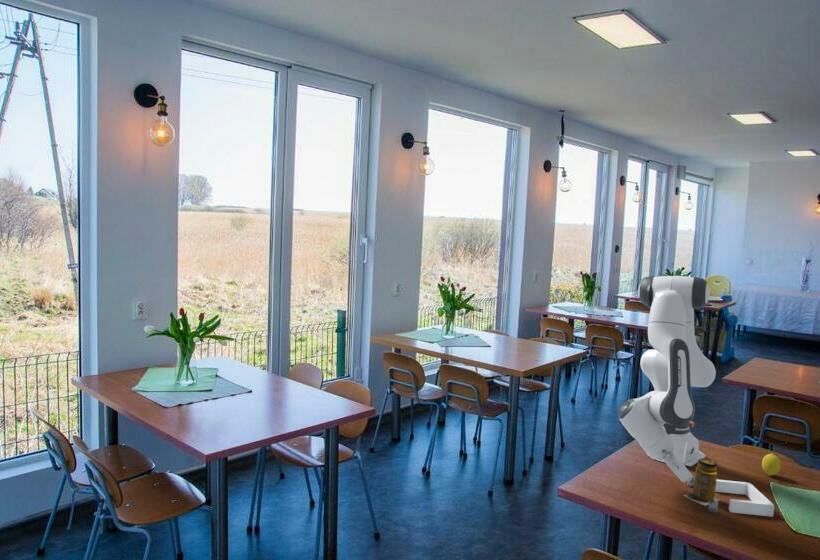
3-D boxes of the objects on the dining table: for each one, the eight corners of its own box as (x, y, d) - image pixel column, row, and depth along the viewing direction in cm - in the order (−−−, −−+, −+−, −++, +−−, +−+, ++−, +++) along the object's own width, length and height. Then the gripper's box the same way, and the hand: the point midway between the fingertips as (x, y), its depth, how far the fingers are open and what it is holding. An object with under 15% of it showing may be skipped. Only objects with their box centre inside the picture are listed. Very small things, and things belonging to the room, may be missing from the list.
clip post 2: (710, 509, 181) (712, 499, 181) (718, 512, 179) (719, 502, 179) (706, 510, 180) (707, 501, 179) (714, 514, 178) (715, 504, 177)
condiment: (720, 500, 188) (724, 463, 186) (704, 506, 183) (709, 468, 182) (697, 491, 194) (702, 455, 192) (682, 496, 189) (686, 459, 188)
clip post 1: (689, 483, 199) (690, 475, 199) (696, 486, 197) (697, 477, 197) (685, 485, 197) (686, 476, 197) (692, 488, 195) (693, 479, 195)
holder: (730, 512, 180) (731, 501, 179) (709, 489, 196) (711, 478, 195) (773, 516, 179) (774, 505, 178) (748, 493, 194) (749, 482, 194)
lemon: (774, 473, 213) (776, 451, 212) (782, 479, 207) (784, 457, 207) (757, 471, 213) (760, 449, 213) (765, 478, 208) (768, 455, 207)
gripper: (678, 451, 178) (709, 486, 177) (657, 428, 198) (685, 460, 198) (660, 464, 178) (691, 499, 178) (642, 440, 199) (669, 471, 199)
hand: (688, 478), depth 188 cm, fingers closed
